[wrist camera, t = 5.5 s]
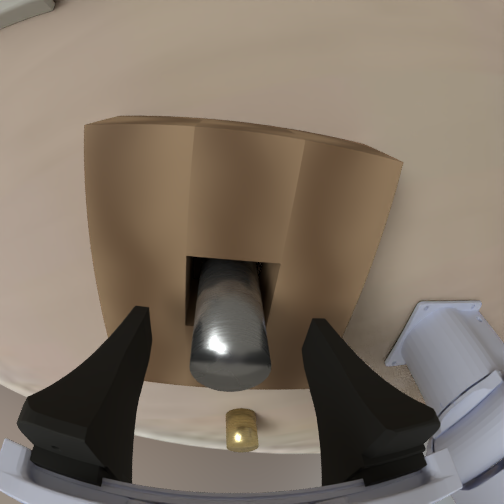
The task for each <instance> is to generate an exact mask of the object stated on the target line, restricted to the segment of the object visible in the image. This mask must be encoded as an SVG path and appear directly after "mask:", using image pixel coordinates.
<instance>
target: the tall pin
mask: <svg viewBox="0 0 504 504" xmlns="http://www.w3.org/2000/svg"><path fill="white" fill-rule="evenodd" d="M189 368H190V372H191V374H192V376H193V377H194V378H195V380H197V381H198V382H199V383H200V384H202V385H204V386H206V387H208V388H211V389H214V390H218V391H227V392H234V391H242V390H246V389H250V388H252V387H255V386H257V385H259V384H260V383H262V382H263V381H264V380H265V379H266V378H267V377H268V375H269V374H270V371H271V359H270V352H269V346H268V339H267V333H266V326H265V319H264V313H263V306H262V299H261V293H260V286H259V280H258V273H257V266H256V262H254V261H242V260H230V259H218V258H207V257H203V258H202V265H201V272H200V279H199V287H198V295H197V303H196V311H195V319H194V328H193V336H192V346H191V355H190V365H189Z"/></svg>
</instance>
